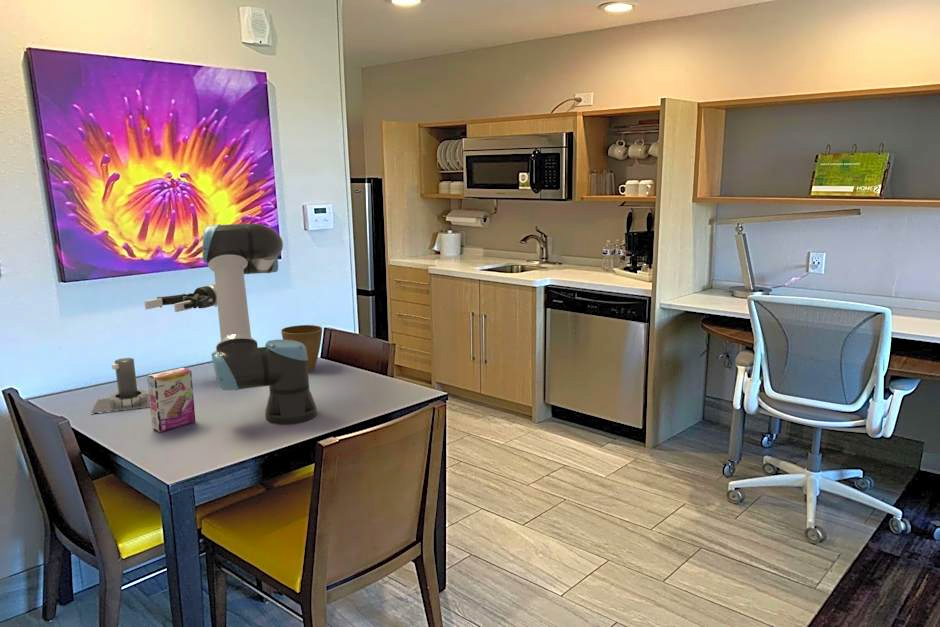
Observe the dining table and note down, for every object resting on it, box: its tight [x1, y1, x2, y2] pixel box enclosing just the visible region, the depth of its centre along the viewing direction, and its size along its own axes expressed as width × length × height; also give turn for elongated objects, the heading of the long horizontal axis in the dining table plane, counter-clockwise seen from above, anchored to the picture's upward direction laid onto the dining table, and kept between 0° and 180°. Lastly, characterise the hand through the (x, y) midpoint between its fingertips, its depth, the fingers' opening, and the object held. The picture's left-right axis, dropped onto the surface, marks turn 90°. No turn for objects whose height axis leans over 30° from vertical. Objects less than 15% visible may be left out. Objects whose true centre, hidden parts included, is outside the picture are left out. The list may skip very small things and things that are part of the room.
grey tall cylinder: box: [111, 357, 138, 398], centre depth 219 cm, size 7×6×14 cm
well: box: [90, 389, 150, 414], centre depth 221 cm, size 14×20×3 cm
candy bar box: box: [147, 367, 196, 433], centre depth 199 cm, size 11×5×16 cm, turn 141°
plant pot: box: [280, 324, 323, 373], centre depth 255 cm, size 15×15×16 cm
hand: (160, 306), depth 225 cm, fingers open, 13 cm apart
